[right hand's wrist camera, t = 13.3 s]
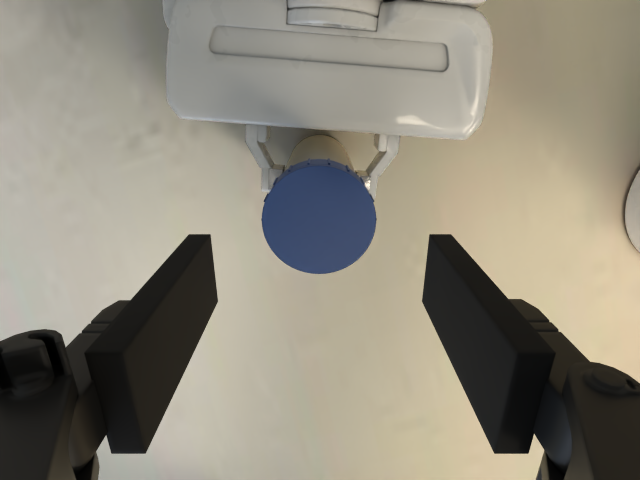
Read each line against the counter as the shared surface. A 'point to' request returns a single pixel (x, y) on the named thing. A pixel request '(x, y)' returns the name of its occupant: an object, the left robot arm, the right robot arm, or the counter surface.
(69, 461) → the right robot arm
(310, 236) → the lid
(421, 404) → the counter surface
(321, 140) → the jar
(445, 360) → the counter surface
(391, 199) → the counter surface
